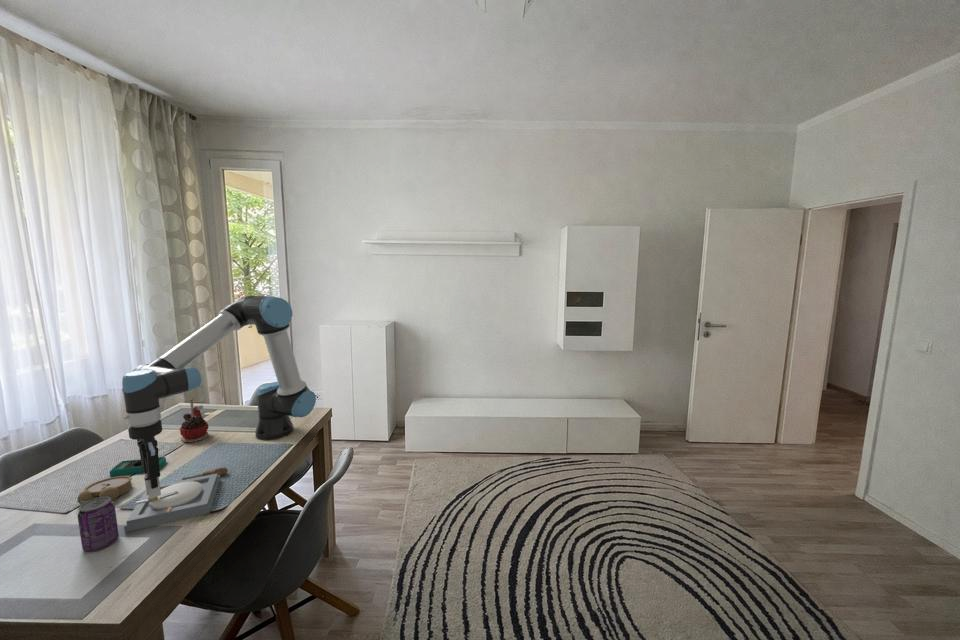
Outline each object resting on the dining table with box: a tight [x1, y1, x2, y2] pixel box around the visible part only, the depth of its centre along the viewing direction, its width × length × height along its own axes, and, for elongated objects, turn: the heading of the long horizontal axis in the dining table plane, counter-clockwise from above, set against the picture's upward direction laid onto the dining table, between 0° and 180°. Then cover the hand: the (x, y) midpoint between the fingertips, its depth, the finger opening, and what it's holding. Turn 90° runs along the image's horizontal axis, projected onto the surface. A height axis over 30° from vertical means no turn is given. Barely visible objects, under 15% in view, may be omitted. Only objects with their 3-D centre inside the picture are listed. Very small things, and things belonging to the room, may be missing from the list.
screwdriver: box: [181, 466, 228, 480], centre depth 136 cm, size 13×3×3 cm, turn 116°
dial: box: [146, 475, 202, 510], centre depth 121 cm, size 13×13×10 cm
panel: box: [123, 473, 221, 533], centre depth 122 cm, size 20×20×3 cm
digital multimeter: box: [109, 456, 167, 477], centre depth 142 cm, size 7×15×3 cm, turn 106°
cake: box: [179, 398, 209, 443], centre depth 165 cm, size 11×9×18 cm
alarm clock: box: [76, 475, 133, 506], centre depth 125 cm, size 11×5×15 cm
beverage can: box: [77, 497, 120, 552], centre depth 103 cm, size 7×7×12 cm
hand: (153, 494), depth 117 cm, fingers open, 2 cm apart
